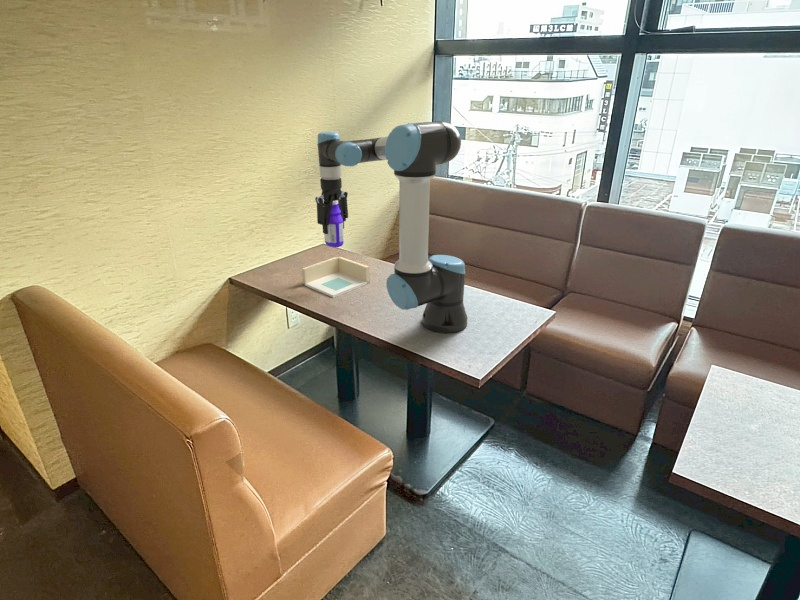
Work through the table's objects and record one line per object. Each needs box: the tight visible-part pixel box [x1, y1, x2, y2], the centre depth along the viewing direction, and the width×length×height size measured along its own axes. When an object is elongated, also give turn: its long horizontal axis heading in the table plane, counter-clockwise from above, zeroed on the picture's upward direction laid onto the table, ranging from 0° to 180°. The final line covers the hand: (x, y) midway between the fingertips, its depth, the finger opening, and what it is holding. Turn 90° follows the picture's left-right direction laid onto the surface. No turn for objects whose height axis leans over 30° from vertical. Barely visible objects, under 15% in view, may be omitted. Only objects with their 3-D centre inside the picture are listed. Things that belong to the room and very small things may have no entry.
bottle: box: [324, 200, 345, 248], centre depth 187 cm, size 7×6×17 cm
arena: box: [301, 255, 370, 299], centre depth 198 cm, size 18×19×7 cm
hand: (334, 239), depth 190 cm, fingers closed on bottle, 5 cm apart
